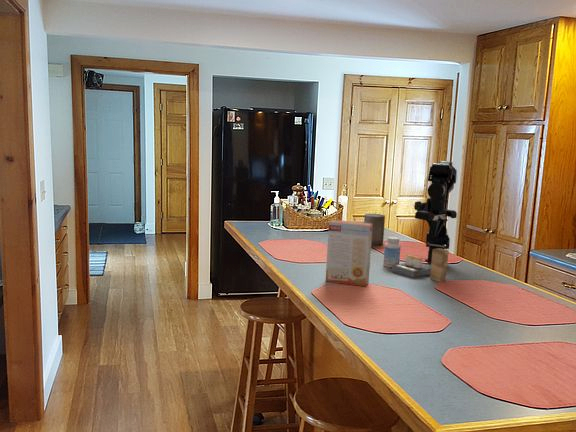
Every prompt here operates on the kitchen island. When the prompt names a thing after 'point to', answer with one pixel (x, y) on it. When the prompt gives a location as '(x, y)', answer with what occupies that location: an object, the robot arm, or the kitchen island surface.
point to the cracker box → (349, 252)
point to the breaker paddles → (413, 261)
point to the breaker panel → (411, 270)
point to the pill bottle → (392, 252)
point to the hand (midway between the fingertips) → (434, 236)
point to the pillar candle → (376, 227)
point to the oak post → (439, 264)
